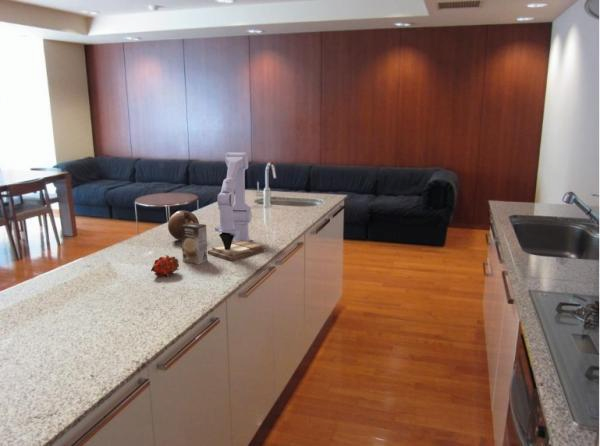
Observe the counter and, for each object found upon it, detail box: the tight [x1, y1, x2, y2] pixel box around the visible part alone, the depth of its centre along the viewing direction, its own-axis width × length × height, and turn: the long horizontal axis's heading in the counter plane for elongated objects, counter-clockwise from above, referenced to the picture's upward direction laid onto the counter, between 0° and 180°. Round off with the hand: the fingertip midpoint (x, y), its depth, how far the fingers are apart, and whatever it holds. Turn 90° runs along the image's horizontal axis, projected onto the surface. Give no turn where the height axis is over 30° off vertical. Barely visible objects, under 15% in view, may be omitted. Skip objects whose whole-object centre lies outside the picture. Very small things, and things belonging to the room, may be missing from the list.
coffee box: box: [181, 222, 208, 265], centre depth 210 cm, size 9×6×16 cm
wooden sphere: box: [167, 210, 200, 242], centre depth 242 cm, size 15×15×15 cm
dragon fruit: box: [150, 254, 180, 277], centre depth 194 cm, size 8×8×12 cm
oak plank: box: [212, 243, 250, 256], centre depth 221 cm, size 14×10×1 cm
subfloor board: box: [207, 240, 265, 262], centre depth 224 cm, size 16×20×3 cm
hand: (227, 249), depth 220 cm, fingers closed, pressing on oak plank
